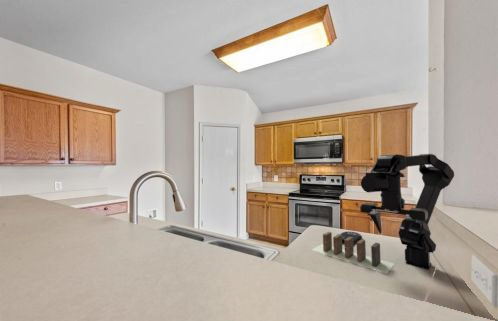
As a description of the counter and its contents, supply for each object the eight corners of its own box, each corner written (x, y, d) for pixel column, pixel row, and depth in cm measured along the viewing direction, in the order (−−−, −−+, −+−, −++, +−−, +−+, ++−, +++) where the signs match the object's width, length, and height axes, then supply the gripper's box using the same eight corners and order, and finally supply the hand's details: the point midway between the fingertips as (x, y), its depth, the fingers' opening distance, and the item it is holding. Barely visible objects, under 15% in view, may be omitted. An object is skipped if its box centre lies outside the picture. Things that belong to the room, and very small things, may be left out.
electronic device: (355, 251, 92) (364, 237, 103) (352, 238, 92) (362, 226, 103) (335, 248, 99) (345, 235, 109) (332, 236, 99) (343, 225, 110)
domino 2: (342, 251, 87) (341, 234, 87) (337, 255, 84) (336, 237, 84) (339, 250, 88) (338, 234, 88) (333, 254, 85) (333, 236, 85)
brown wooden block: (365, 258, 80) (365, 240, 81) (361, 262, 77) (360, 243, 77) (362, 257, 81) (361, 239, 82) (357, 261, 78) (356, 242, 78)
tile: (380, 262, 77) (379, 243, 77) (376, 267, 73) (375, 247, 74) (376, 261, 78) (375, 242, 78) (371, 265, 74) (371, 246, 75)
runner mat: (394, 264, 76) (394, 263, 76) (387, 275, 69) (387, 273, 69) (322, 244, 96) (322, 243, 96) (311, 250, 89) (311, 249, 89)
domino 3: (353, 254, 84) (353, 237, 84) (348, 258, 80) (348, 240, 80) (350, 253, 85) (349, 236, 85) (345, 257, 81) (344, 239, 81)
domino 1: (332, 248, 90) (331, 232, 90) (326, 252, 87) (326, 235, 87) (328, 247, 91) (328, 231, 91) (323, 251, 88) (322, 234, 88)
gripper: (429, 190, 71) (431, 236, 70) (369, 186, 85) (370, 225, 84) (423, 193, 63) (426, 245, 63) (358, 189, 77) (360, 231, 77)
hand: (392, 235), depth 72 cm, fingers open, 7 cm apart
